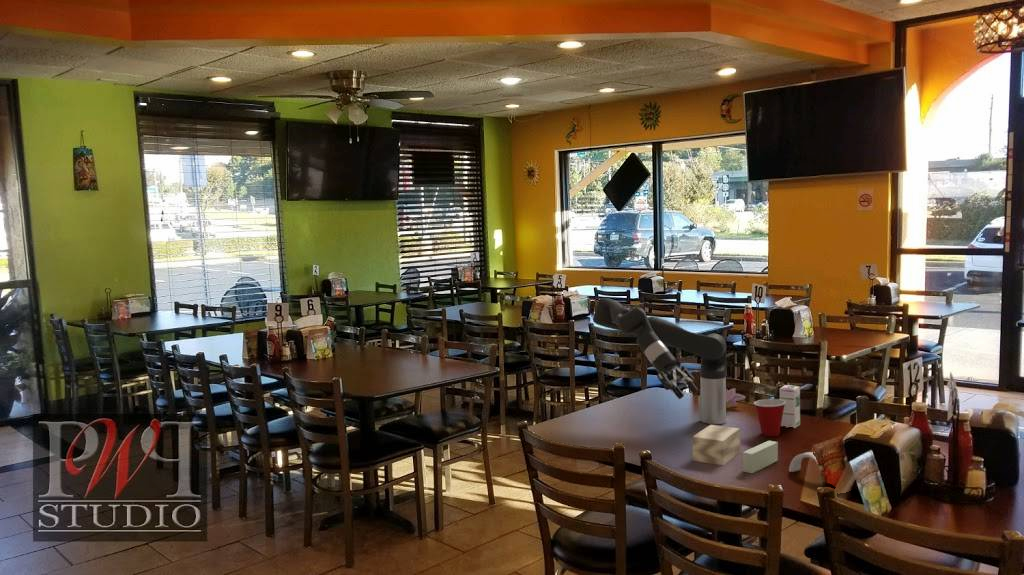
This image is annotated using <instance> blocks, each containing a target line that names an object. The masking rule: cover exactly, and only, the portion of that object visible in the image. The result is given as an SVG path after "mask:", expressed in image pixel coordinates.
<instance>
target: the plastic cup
mask: <svg viewBox="0 0 1024 575" xmlns="http://www.w3.org/2000/svg"><path fill="white" fill-rule="evenodd" d="M785 403H786V401H784V400H780V398H777V399H776V398H767V399H758V400H756V401H754V402H753V404H754V406H755V408H756V412H757V416H758V421H759V426H760V432H761V434H763V435H762V436H764V435H765V437H770V436H771V437H772V438H774V437H773V436H775V437H778V436H779V435H780V432H781V427H782V426H781V422H782V416H783V411H784V405H785Z"/></svg>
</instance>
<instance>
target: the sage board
mask: <svg viewBox="0 0 1024 575" xmlns="http://www.w3.org/2000/svg"><path fill="white" fill-rule="evenodd" d="M778 446H779V442H778V441H772V440H767V441H765V442H763V443H760V444H758V445H756V446H753V447H751V448H749V449H746V450H745V451H743V452H742V472H745V473H749V474H753V473H756V472H758V471H760V470H762V469H764V468H766V467H768V466H770V465H772V464H774V463H775V462H777V461H779V458H778V457H779V453H778V452H779V447H778Z"/></svg>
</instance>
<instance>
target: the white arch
mask: <svg viewBox="0 0 1024 575" xmlns="http://www.w3.org/2000/svg"><path fill="white" fill-rule="evenodd" d="M813 452H814V451H808V452H807V451H806V452H804V453H800V454H797V455H796V456H794V457H793V458H792V460H791V461H790V464H789V466H788V468H789V469H788V471H789V473H795V472H798V471H801V466H802V461H803V459H804V458H810V459H812V460H813V461H814V462H815V463H816V464H817V466H818V463H817V460H816V457H815V456H814V455H813Z"/></svg>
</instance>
